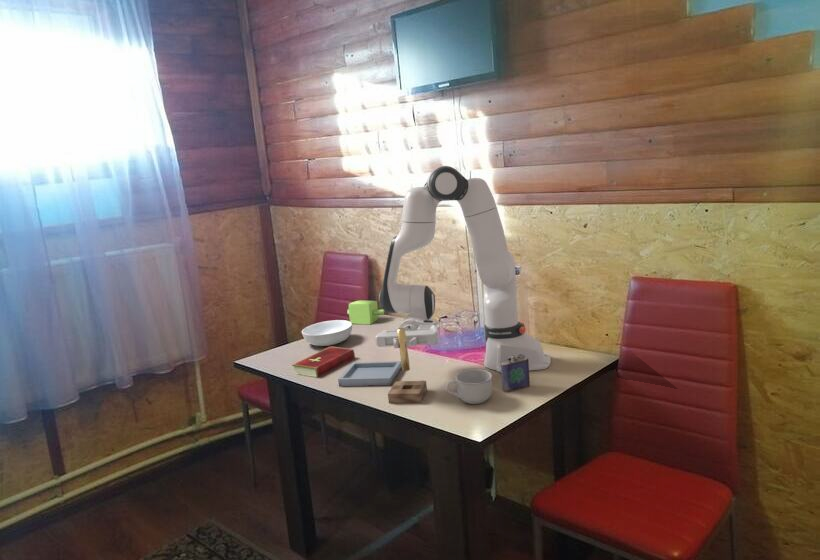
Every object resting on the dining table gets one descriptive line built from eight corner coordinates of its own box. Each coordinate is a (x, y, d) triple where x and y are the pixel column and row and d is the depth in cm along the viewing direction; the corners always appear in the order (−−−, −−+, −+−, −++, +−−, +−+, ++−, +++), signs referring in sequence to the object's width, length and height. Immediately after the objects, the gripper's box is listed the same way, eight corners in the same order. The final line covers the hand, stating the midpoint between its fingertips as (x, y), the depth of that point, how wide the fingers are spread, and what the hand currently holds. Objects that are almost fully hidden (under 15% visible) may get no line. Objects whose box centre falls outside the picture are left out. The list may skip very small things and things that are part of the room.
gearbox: (389, 319, 284) (387, 299, 283) (379, 325, 276) (377, 304, 274) (355, 318, 292) (353, 298, 290) (344, 323, 283) (342, 303, 282)
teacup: (490, 391, 189) (488, 366, 188) (497, 405, 179) (494, 379, 177) (445, 396, 189) (442, 372, 187) (449, 411, 178) (446, 385, 177)
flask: (505, 393, 187) (502, 359, 184) (500, 390, 189) (497, 356, 187) (531, 386, 189) (529, 353, 187) (526, 383, 192) (524, 350, 190)
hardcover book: (355, 359, 234) (354, 348, 233) (317, 378, 218) (316, 367, 217) (331, 355, 241) (330, 345, 240) (293, 374, 225) (291, 363, 224)
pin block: (427, 389, 196) (426, 380, 195) (420, 402, 186) (419, 393, 186) (396, 390, 198) (395, 381, 198) (388, 402, 189) (387, 393, 188)
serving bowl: (333, 332, 272) (331, 317, 271) (364, 339, 257) (362, 323, 256) (294, 346, 258) (291, 330, 256) (324, 354, 243) (321, 337, 242)
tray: (401, 367, 218) (401, 361, 217) (390, 385, 203) (389, 378, 202) (353, 369, 222) (352, 362, 222) (339, 386, 207) (338, 379, 206)
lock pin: (410, 367, 191) (405, 327, 189) (409, 370, 189) (403, 330, 186) (403, 368, 192) (398, 328, 189) (401, 371, 190) (396, 330, 187)
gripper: (380, 324, 203) (368, 337, 190) (441, 320, 198) (433, 334, 185) (382, 342, 204) (371, 356, 191) (443, 339, 199) (435, 354, 186)
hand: (402, 345), depth 188 cm, fingers closed on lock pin, 2 cm apart
